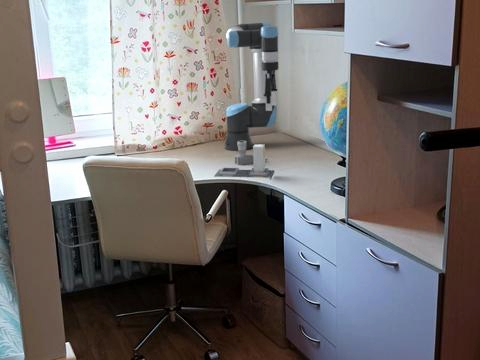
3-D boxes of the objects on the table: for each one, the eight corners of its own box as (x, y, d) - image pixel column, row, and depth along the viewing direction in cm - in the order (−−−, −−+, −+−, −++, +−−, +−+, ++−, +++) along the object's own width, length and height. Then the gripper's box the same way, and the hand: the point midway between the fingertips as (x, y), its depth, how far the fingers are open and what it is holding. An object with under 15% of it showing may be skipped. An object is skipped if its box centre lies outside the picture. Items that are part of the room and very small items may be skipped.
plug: (255, 172, 293) (254, 144, 289) (265, 172, 292) (265, 144, 288) (253, 174, 289) (253, 146, 285) (264, 175, 288) (263, 146, 284)
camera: (231, 140, 309) (259, 137, 315) (232, 164, 312) (259, 160, 318) (239, 143, 301) (267, 140, 308) (240, 168, 305) (267, 163, 311)
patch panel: (219, 171, 300) (219, 166, 299) (274, 172, 295) (274, 167, 294) (213, 178, 289) (213, 173, 288) (270, 179, 284) (270, 174, 283)
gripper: (265, 58, 301) (266, 103, 307) (257, 64, 277) (258, 112, 283) (281, 58, 299) (282, 103, 305) (274, 64, 276) (275, 112, 282)
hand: (271, 107), depth 294 cm, fingers open, 13 cm apart
